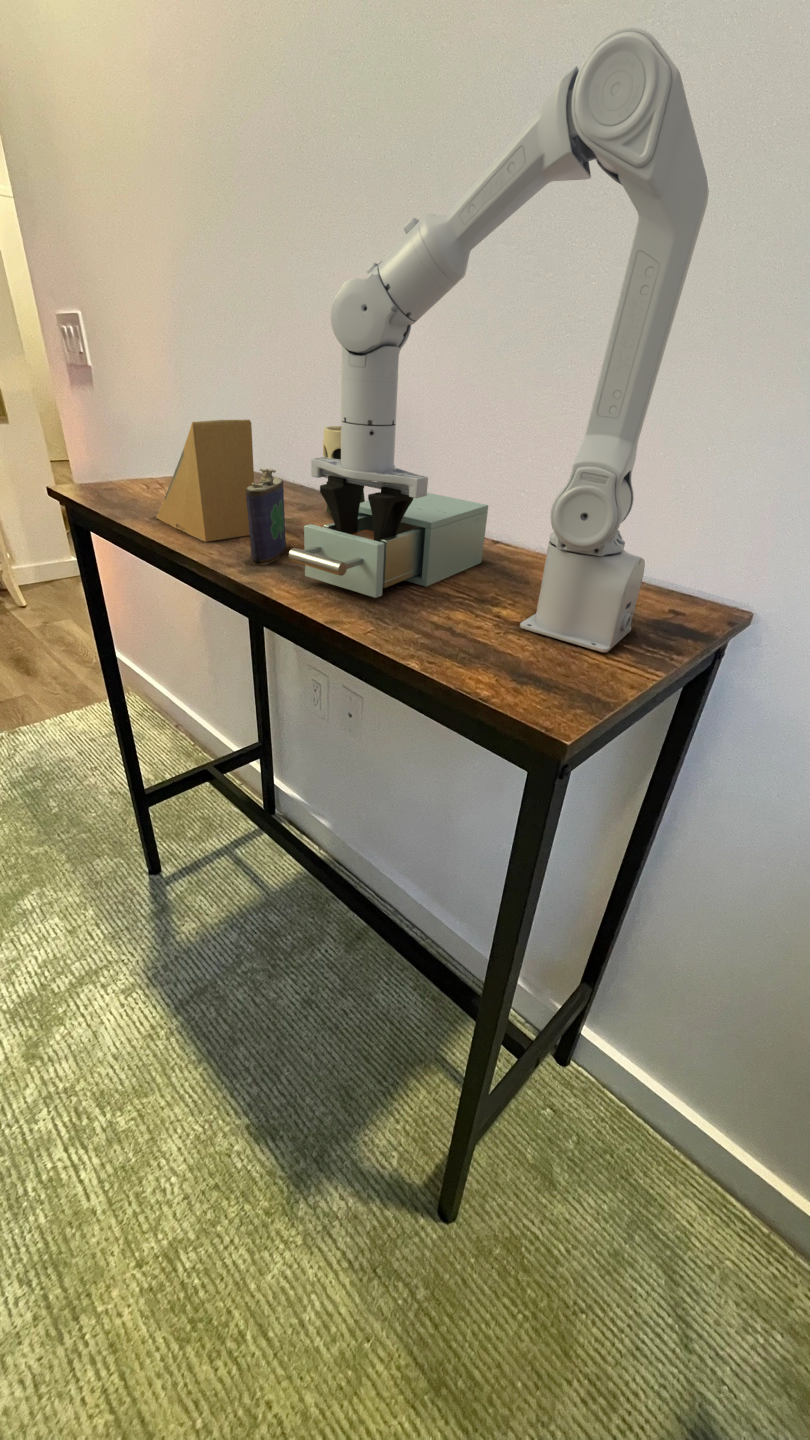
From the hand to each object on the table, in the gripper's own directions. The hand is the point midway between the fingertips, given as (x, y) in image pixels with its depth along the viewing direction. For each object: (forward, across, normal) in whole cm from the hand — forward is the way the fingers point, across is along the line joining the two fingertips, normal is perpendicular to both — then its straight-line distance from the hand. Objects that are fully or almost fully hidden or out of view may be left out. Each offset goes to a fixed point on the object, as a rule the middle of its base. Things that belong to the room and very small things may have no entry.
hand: (365, 551), depth 73 cm
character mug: (+4, +23, -24) cm, 34 cm away
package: (+1, 0, 0) cm, 1 cm away
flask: (+4, +16, 0) cm, 17 cm away
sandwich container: (+4, +33, -4) cm, 33 cm away
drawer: (+3, 0, +1) cm, 3 cm away
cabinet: (+4, 0, -12) cm, 12 cm away
